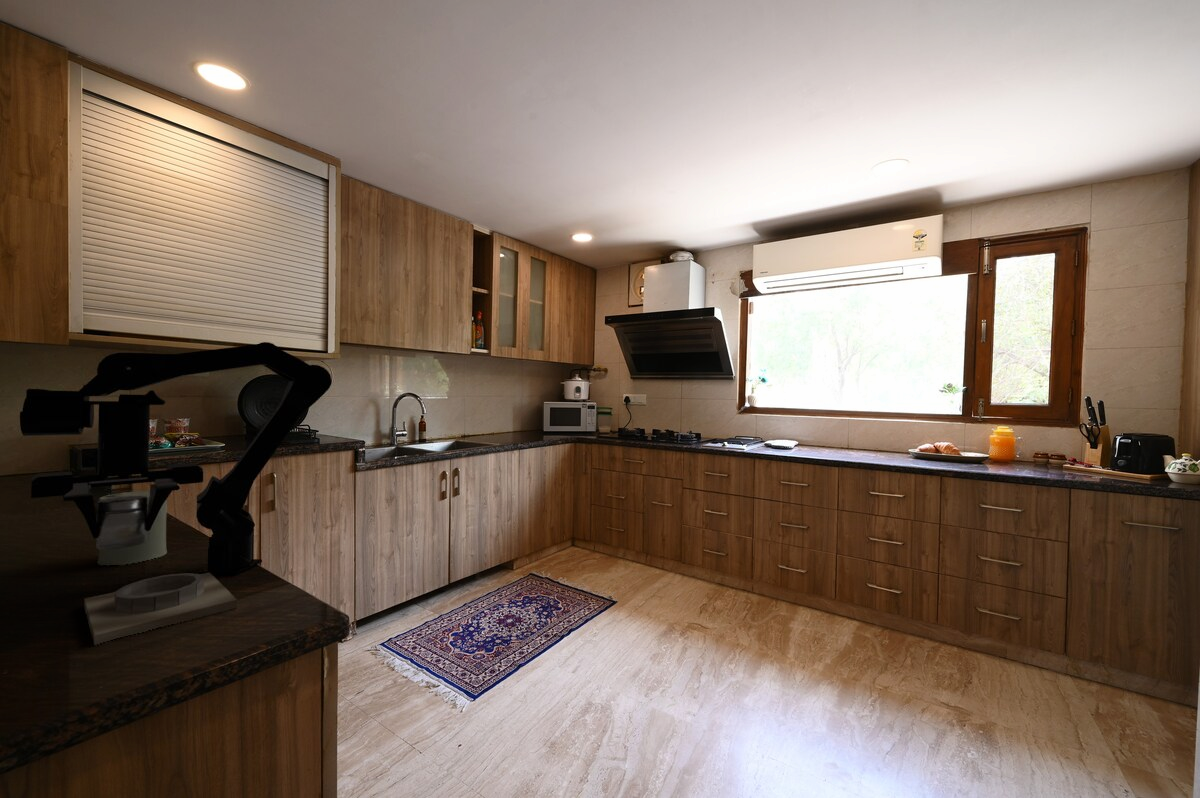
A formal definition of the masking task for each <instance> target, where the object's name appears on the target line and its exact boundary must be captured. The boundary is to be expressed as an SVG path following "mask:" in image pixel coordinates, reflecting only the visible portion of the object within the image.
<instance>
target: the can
mask: <svg viewBox="0 0 1200 798" xmlns="http://www.w3.org/2000/svg"><path fill="white" fill-rule="evenodd" d="M124 496H146V497H147V509H148V503H149V498H150V490H141V491H140V490H139V491H137V490H136V491H128V492H126V491H124V492H119V493H113V494H109V495H104V496H101V497H99V499H98V501H100V500H103V499H108V498H115V497H124ZM167 500H168V498H167V499H166V501H165V502H164V504H163V505H162V507H161V509H160V511H159V513H158V515H157V517H156V519H155V521H154V523H153V525H152V527H151V529H150V531H146V542H145V543H143V544H140V545H136V546H132V547H127V548H120V549H109V550H101V549H98V558H97V559H98V560H97V565H99V566H103V565H107V566H106V567H110V566H109V565H119V566H127V565H126V564H128V565H133V564H132V563H135V564H139V563H138V562H140V563H143V562H142V561H145V562H147V561H146V560H149V561H152V560H151V559H153V560H155V559H154V558H156V559H159V558H160V557H161V558H162V557H163V556H165V555H166V554H167V553H168V550H167V506H168V505H167V504H168V503H167V502H168V501H167ZM158 557H159V558H158Z"/></svg>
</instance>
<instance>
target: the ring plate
mask: <svg viewBox="0 0 1200 798" xmlns="http://www.w3.org/2000/svg"><path fill="white" fill-rule="evenodd" d="M83 601H84V603H83V605H84V606H83V608H84V612H85V614H86V615H87V616H86V618H87V623H88V626H89V630H90V633H91V634H90V635H91V638H92V641H93V645H94V646H98V645H101V644H100V643H102V644H104V643H103V642H105V643H108V642H107V641H109V642H111V641H110V640H113V639H116V638H120V637H124V636H128V635H132V636H134V635H133V634H136V635H138V634H137V633H140V634H142V632H144V633H147V632H149V631H148V630H151V631H153V630H152V629H155V630H157V629H156V628H158V627H163V628H165V627H164V626H166V627H168V626H167V625H170V626H172V625H171V624H174V625H177V623H178V624H181V623H180V622H182V623H185V622H189V621H192V619H193V620H197V619H201V618H204V616H205V617H208V616H212V615H216V614H220V613H223V612H227V611H230V609H231V610H235V609H237V608H238V599H237V598H236V597H235V596H234V595H233V594H232V593H231V592H230V591H229V590H228V589H227V588H226V587H225V586H224V585H223V584H222V583H221V582H220V581H219V580H218V579H217V578H216V577H215V576H214V574H211V573H210V572H209V573H205V574H199V573H190V572H187V573H186V572H185V573H184V572H183V573H171V574H164V575H163V574H162V575H158V576H153V577H149V578H144V579H141V580H138V581H135V582H131V583H129V584H126V585H124V586H122V587H120V588H119V589H118V590H115V591H114V592H113V591H112V592H109V593H105V594H100V595H94V596H91V597H86V598H84V600H83ZM234 608H235V609H234ZM196 618H197V619H196ZM184 621H185V622H184ZM146 631H147V632H146ZM128 637H129V636H128ZM124 638H125V637H124ZM113 641H114V640H113ZM97 644H98V645H97Z"/></svg>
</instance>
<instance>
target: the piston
mask: <svg viewBox="0 0 1200 798" xmlns="http://www.w3.org/2000/svg"><path fill="white" fill-rule="evenodd" d="M96 520H97V526H98V536H97V538H96V549H97V550H99V549H101V550H109V549H120V548H127V547H132V546H136V545H140V544H143V543H145V542H146V527H147V497H146V496H124V497H115V498H108V499H103V500H100V501H99V500H98V501H97V509H96Z"/></svg>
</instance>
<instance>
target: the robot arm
mask: <svg viewBox="0 0 1200 798" xmlns="http://www.w3.org/2000/svg"><path fill="white" fill-rule="evenodd" d="M256 366H264V367H265V368H267V369H269V370H270V371H272V372H273V373H274V374H276V375H278V376H280V377H281V378H283V379H284V380H286V381H288V383H287V386H286V387H285V390H284V392H283V395H282V397H281V400H280V402H279V404H278V406H277V408H276V409H275V410H274V411H273V412H272V414H271V415H270V417H269V418H268V420H267V421H266V422H265V424H264V425H263V427H262V428H261V429H260V430H259V432H258V433H257V435H256V436H255V437H254V438H253V440H252V442H250V444H249V446H248V447H247V448H246V449H245V451H244V452H243V453H242V455H241V457H240V458H239V459H238V460H237V462H235V464H234V465H233V467H232V468H231V469H230V471H228V472H227V474H225V475H224V476H223V477H222V478H220V479H219V478H218V477H216V476H214V475H212V476H211V477H210V479H209V481H208V483H207V485H206V487H205V488H204V489H203V490H202V492H200V493H198V494H197V495H196V507H195V508H196V509H195V510H196V519H197V522H198V524H199V525H200V526H201V527H203V528H205V529H206V530H210V531H211V532H212V534H211V535H210V536H209V537H208V547H207V560H206V561H207V562H206V565H207V567H205V568H203V569H200V570H199V571H198V574H205V573H209V572H210V573H211V574H212V575H237V574H240V573H242V572H244V570H245V571H246V569H247V570H249V569H250V568H253V567H255V566H257V565H259V564H261V563H263V559H261V558H257V559H256V558H254V557H255V555H254V554H255V553H254V551H255V550H254V549H255V526H256V524H255V522H254V519H253V517H252V515H251V513H249V512H248V511H247V510H245V509H244V506H245V504H246V503H247V500H248V496H249V495H250V492H251V490H252V489H251V488H252V486H253V485H254V483H255V481H256V479H257V478H258V476H259V475H260V473H261V472H262V471H263V469H264V468H265V466H266V465H267V463H268V462H269V461H270V459H271V457H273V455H274V454H275V452H276V451H277V449H278V448H279V446H280V445H281V444H282V443H283V441H284V440H285V438H286V437H287V435H288V433H290V431H291V429H292V428H293V427H294V426H295V424H296V423H297V421H298V419H300V417H301V416H302V415H303V413H305V412H306V411H307V410H308V409H309V408H311V407H312V406H313V405H314V404H316V403H317V401H319V400H320V398H321V397H323V395H325V393H327V391H329V390H330V388H331V386H332V383H333V379H332V376H331V374H330V372H329V371H328V370H327V369H326V368H325V367H324V366H321V365H319V364H308V363H307V362H306V361H304V360H302V359H300V358H299V357H296V356H294V355H292V354H291V353H288V352H287V351H284V350H282V349H281V348H279V347H278V346H277V345H276V344H274V343H273V342H270V341H269V342H268V341H263V342H259V343H256V344H249V345H241V346H240V345H239V346H233V347H224V348H217V349H216V348H215V349H206V350H198V351H190V352H181V353H156V352H155V353H153V352H116V353H115V352H114V353H112V354H109V355H107V356H105V357H104V358H102V359H101V361H99V363H98V365H97V368H96V375H95V376H94V377H93V378H92V379H91V380H90V381H88V382H87V383H86V384H83V385H82V386H83V387H82V388H80V389H79V390H50V389H44V388H27V389H26V390H25V391H26V392H25V394H26V395H25V399H24V402H23V403H22V404H23V405H22V410H21V411H20V412H19V426H20V431H21V434H22V436H24V437H38V436H39V437H41V436H45V437H46V436H78V435H79V436H81V435H82V434H83V432H84V429H85V428H86V429H92V428H93V427H94V421H95V405H97V406H98V421H97V422H98V426H97V427H98V428H97V429H98V432H97V433H98V435H97V447H96V448H95V447H94V448H81V449H80V471H94V473H95V474H90V475H87V474H86V475H76V476H74V474H73V473H72V471H58V472H46V473H45V472H44V473H43V472H41V473H37V474H35V475H34V476H32V477H31V479H30V498H32V499H38V498H40V499H41V498H49V497H50V498H51V497H58V496H61V499H62V501H63V502H70V501H71V502H74V504H75V505H76V506H77V508H78V510H79V511H80V512H81V513H82V515H83V518H84V519H85V521H86V525H87V527H88V529H89V531H90V533H91V536H92V538H93V539H94V540H95V539H97V536H98V526H97V513H96V508H95V502H94V496H93V494H92V492H91V488H98V487H111V486H120V485H132V484H133V485H134V484H144V483H153V484H150V485H149V491H150V498H149V503H148V509H147V527H146V531H150V529H151V527H152V525H153V523H154V521H155V519H156V517H157V515H158V513H159V511H160V509H161V507H162V505H163V504H164V502H165V501H166V499H167V500H168V497H170V495H171V493H172V492H173V491H179V490H180V489H181V488H180V486H179V485H189V484H190V485H191V484H199V483H200V484H201V483H203V482H204V469H203V467H201V466H200V465H198V464H195V463H192V462H190V463H177V464H176V463H175V464H167V465H166V469H157V470H149V469H150V468H149V467H150V465H149V464H150V463H149V462H150V461H149V460H150V421H151V419H150V418H151V417H150V413H151V406H163V405H166V403H167V401H166V400H165V399H163V398H162V397H160V396H159V395H157V393H156V391H155V390H153V389H151V390H148V391H147V393H146V394H130V393H129V394H128V393H127V394H119V396H118V400H117V401H116V400H90V397H107V396H109V395H111V394H114V393H116V392H118V391H135V390H138V389H142V388H143V389H144V388H146V387H150V386H153V385H156V384H160V383H163V382H166V381H171V380H174V379H176V378H181V377H184V376H185V377H186V376H191V375H198V374H206V373H213V372H220V371H227V370H234V369H235V370H236V369H241V368H243V369H244V368H249V367H256ZM241 556H242V557H241ZM244 558H246V559H248V560H250V561H251V562H253V563H254V564H256V565H255V566H254V565H253V564H252V563H251V562H249V561H247V560H246V559H244ZM250 564H252V566H251V565H250Z"/></svg>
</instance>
